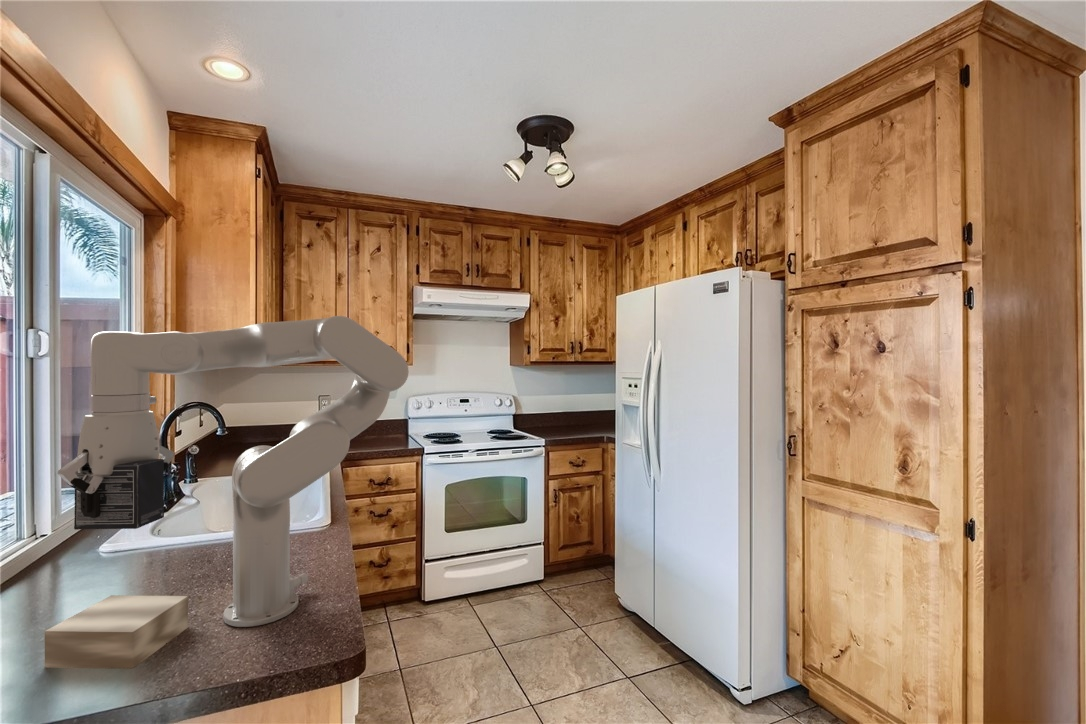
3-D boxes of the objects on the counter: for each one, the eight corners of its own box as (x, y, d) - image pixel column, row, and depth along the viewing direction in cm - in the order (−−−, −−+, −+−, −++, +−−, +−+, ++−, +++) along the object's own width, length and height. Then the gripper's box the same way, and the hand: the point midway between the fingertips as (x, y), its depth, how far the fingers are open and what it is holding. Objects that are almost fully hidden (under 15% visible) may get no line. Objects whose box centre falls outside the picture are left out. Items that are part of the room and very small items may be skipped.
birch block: (111, 628, 91) (111, 595, 91) (188, 629, 91) (188, 596, 91) (44, 669, 79) (44, 631, 79) (132, 670, 79) (132, 632, 79)
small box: (167, 517, 88) (167, 457, 88) (138, 529, 81) (137, 465, 81) (106, 517, 88) (105, 457, 88) (71, 530, 81) (71, 465, 81)
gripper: (160, 400, 94) (161, 494, 94) (41, 409, 78) (42, 522, 78) (188, 401, 91) (189, 497, 91) (71, 410, 75) (72, 528, 75)
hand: (121, 508), depth 85 cm, fingers closed on small box, 8 cm apart
